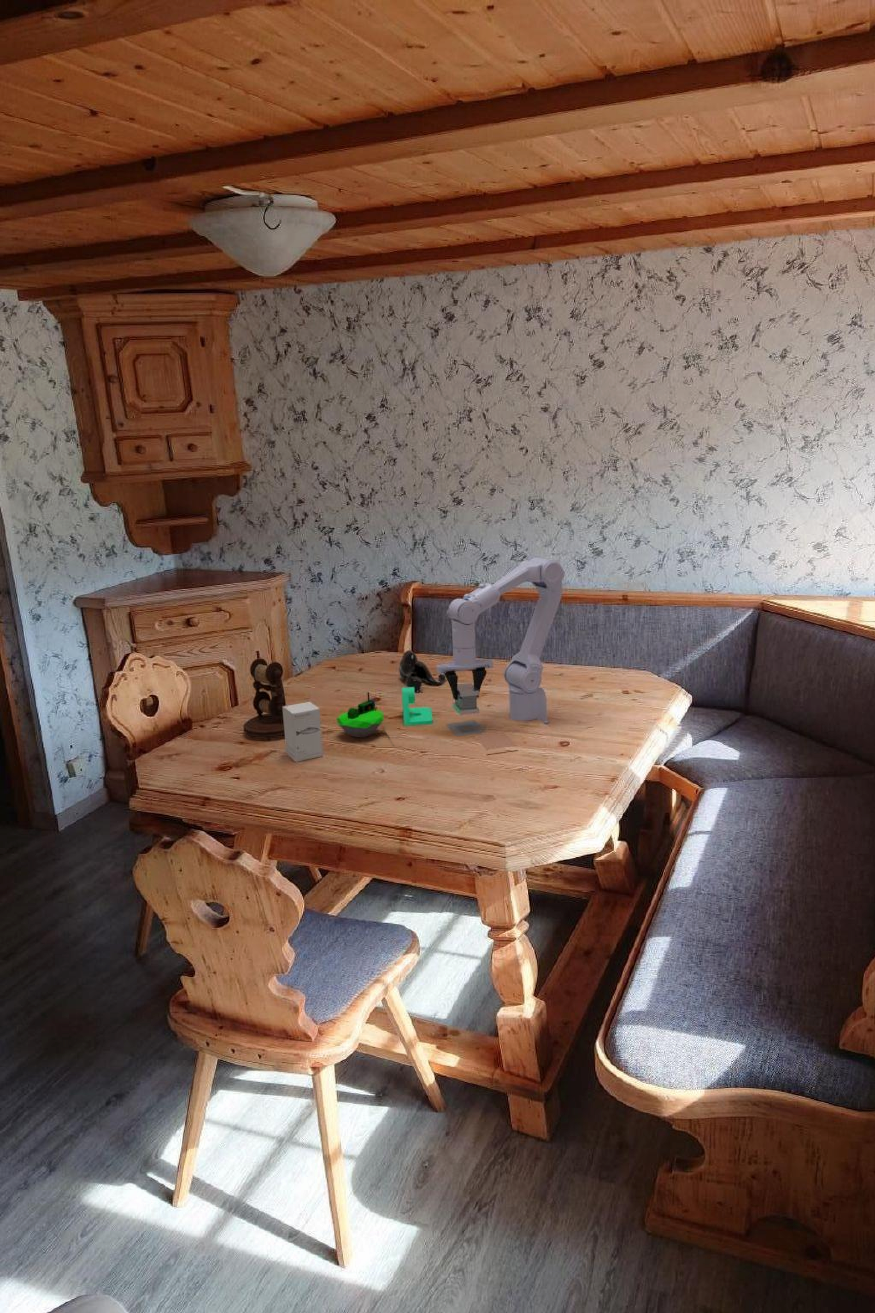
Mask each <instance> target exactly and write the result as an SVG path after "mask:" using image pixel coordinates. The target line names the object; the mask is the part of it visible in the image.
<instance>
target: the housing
mask: <svg viewBox="0 0 875 1313" xmlns="http://www.w3.org/2000/svg"><path fill="white" fill-rule="evenodd" d="M457 690H458V700H455V699H454V702H452V708H453V709H454V710H455V711H456V712H457V713H458V714H459V715H460V716H465V715H475V714H476V715H477V714H479V713H480V708H479V706H477V705H478V702H477V701H478V700H477V699H478V697H477V695H479V696H480V692H479V690H478V689H477V688H476V687H475V686H474V684H473V683H471V682H470V683H457Z"/></svg>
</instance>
